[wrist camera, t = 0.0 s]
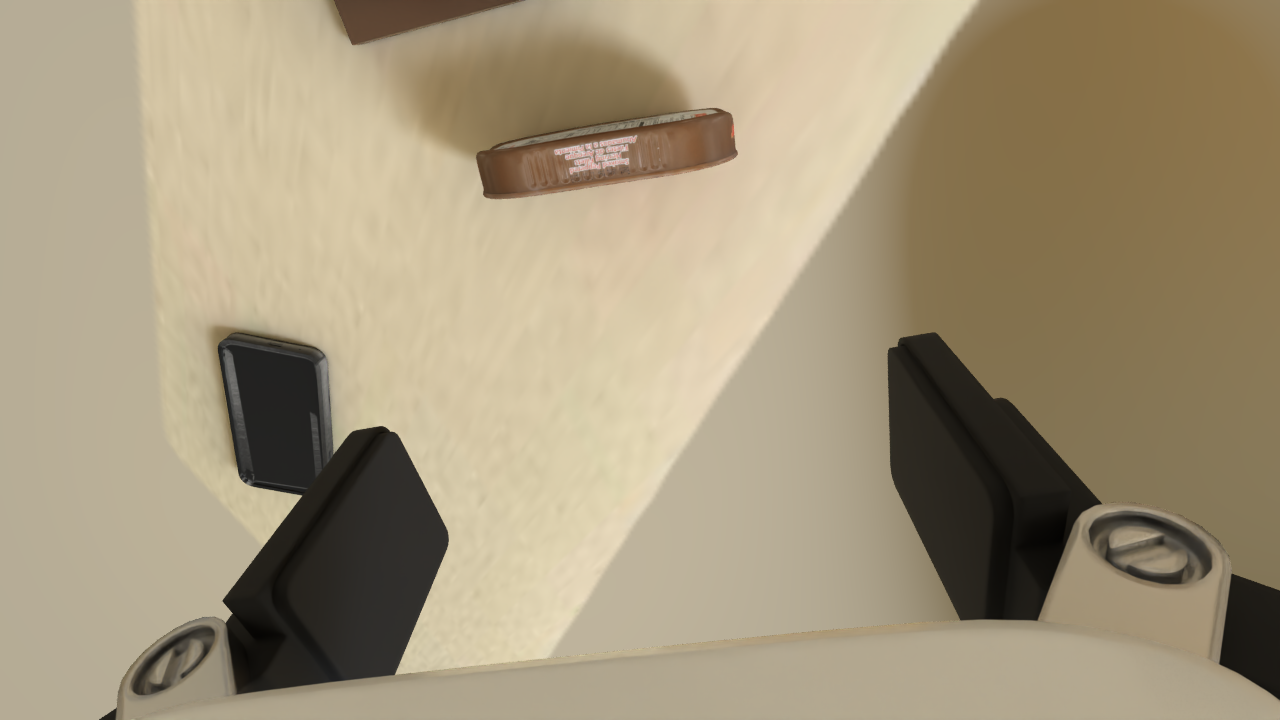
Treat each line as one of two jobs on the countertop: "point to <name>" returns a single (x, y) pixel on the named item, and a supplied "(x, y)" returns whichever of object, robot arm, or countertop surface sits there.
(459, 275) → the countertop surface
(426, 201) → the countertop surface
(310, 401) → the phone
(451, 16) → the rod stand
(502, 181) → the tin
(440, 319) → the countertop surface
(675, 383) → the countertop surface
